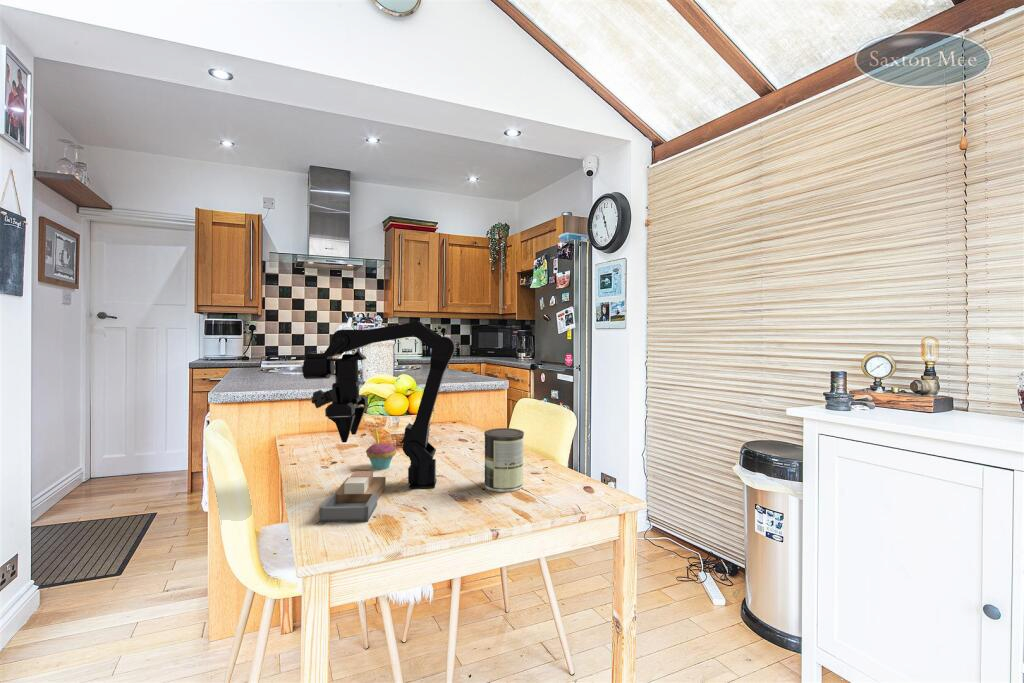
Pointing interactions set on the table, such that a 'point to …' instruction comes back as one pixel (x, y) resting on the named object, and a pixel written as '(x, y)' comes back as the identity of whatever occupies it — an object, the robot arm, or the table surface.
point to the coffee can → (503, 459)
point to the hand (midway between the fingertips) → (349, 438)
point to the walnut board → (375, 486)
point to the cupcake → (380, 454)
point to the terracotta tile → (364, 475)
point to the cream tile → (356, 485)
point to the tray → (346, 510)
